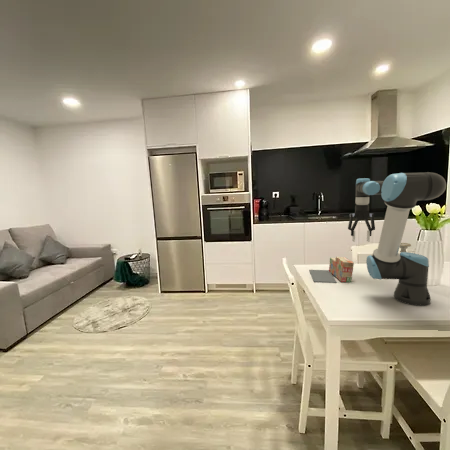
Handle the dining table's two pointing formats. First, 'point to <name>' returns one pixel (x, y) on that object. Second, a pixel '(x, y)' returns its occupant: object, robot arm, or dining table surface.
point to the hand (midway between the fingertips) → (360, 241)
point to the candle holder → (404, 247)
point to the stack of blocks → (341, 268)
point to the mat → (322, 276)
